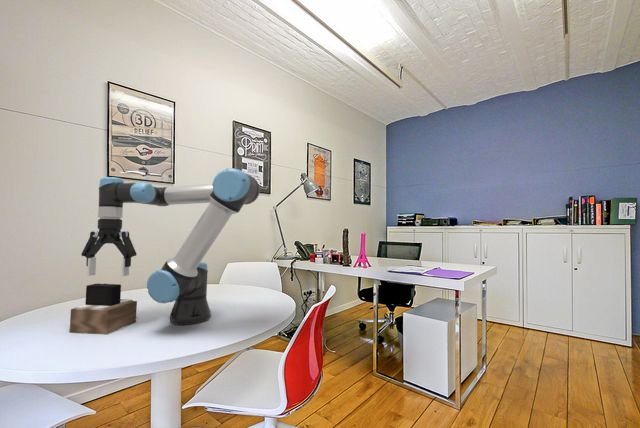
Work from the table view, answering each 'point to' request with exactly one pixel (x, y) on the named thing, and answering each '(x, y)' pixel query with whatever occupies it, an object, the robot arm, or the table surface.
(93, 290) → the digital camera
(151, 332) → the table surface
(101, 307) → the walnut stand
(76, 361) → the table surface
